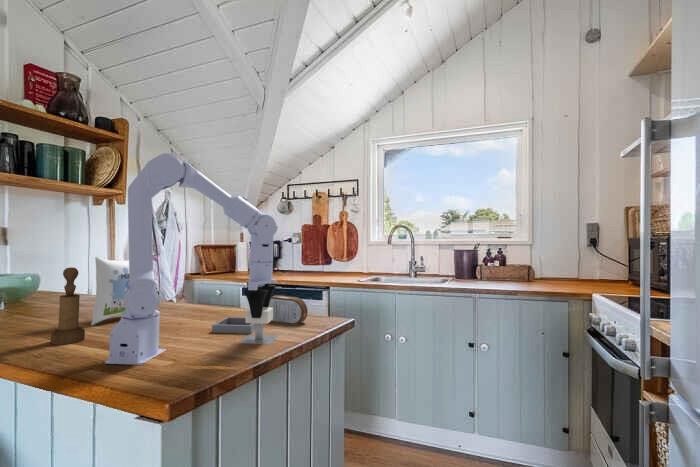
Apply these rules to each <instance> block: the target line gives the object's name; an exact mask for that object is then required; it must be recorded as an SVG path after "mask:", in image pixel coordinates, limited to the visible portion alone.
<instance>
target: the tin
mask: <svg viewBox="0 0 700 467" xmlns="http://www.w3.org/2000/svg"><path fill="white" fill-rule="evenodd" d="M269 307H270V308H273V319H272V320H271V321H270V322H272V323H290V324H295V325H296V324H297V325H298V324H302V323H304V322H305V321H306V319H307V318H308V310H309V309H308V306H307V304H306V303H305V301H304V300H303V299H301V297H297V296H290V295H289V296H288V295H280V294H275V295H272V296H271V299H270V303H269Z"/></svg>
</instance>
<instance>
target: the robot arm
mask: <svg viewBox="0 0 700 467" xmlns="http://www.w3.org/2000/svg"><path fill="white" fill-rule="evenodd" d="M177 183H179V184H178V188H187V189H189V188H190V189H193V190H196V191H197V192H199V193H201V195H204V196H205V197H207V198H208V199H209V200H212V201H213V202H215V203H216V204H217V205H219V206H221V207H222V208H223V209H222V210H223V214H224V215H225V216H227V217H228V218H230V219H231V220H233V222H236V223H237V224H238V225H239V226H241V227H243V228H244V229H247V231H248V233H249V234H250V246H249V248H250V249H249V274H248V275H249V278H248V281H247V285H248V286H247V287H248V288H244V289H243V293H244V295H245V297H246V299H247V303H248V306H249V309H250V312H251V316H252V318H261V315H262V310H263V307H269V303H270V299H271V297H272V296H273V293H274V291H275V289H276V286H277V285H276V284H272V283H277V282H278V279H276V278H273V270H274V269H273V266H274V264H273V262H274V236H275V235H276V233H277V231H278V229H279V226H278V225H277V222H276V220H275V219H274V218H273V217H272V216H271V215H269V214H263V213H264V210H263V209H261V208H257V207H255V206H254V205H253V204H251V203H250V202H249V201H248V200H249V198H247V197H246V196H240V195H234V196H233V195H232V196H231V194H229V193H228V192H227V191H225V190H224V189H222V188H221V187H220V186H219V185H217V184H216V183H214V182H213V181H212V180H211V179H209V178H208V177H207V176H205V175H204V174H203V173H202V172H201V171H199V170H198V169H197V168H195V167H194V166H192V165H191V164H190V163H188V162H186V161H182V159H181V158H180V157H178V156H177V155H175V154H173V153H167V152H166V153H165V152H164V153H161V154H159V155H156V156H155V157H153V158H152V159H150V160H148V161H147V163H146V164H145V165H144V166H143V168H142V169H141V170H140V172H139V173H138V175H137V176H136V177H135V178H134V179H133V180H132V181H131V183H130V184H129V186H128V188H127V215H128V216H127V219H128V220H127V221H128V223H127V225H128V260H129V287H128V289H127V290H126V293H125V308H126V310H125V311H124V312H122V315H120V316H121V317H120V319H119V322H117V323H115V324H114V325H113V326H112V328H111V330H110V333H109V347H108V349H109V351H108V352H109V353H108V359H106V360H104V364H108V365H139V366H141V365H145V362H148V361H149V360H151V359H152V358H154V357H156V356H158V355H160V354H162V353H163V352H165V351H167V349H166V348H159V347H160V346H159V344H160V320H161V319H160V318H161V317H160V315H161V314H160V313H161V311H159V310H158V307H159V305H160V301H161V300H160V295H159V293H158V291H157V290H156V287H155V277H154V276H155V275H154V254H153V253H154V252H153V251H154V249H153V248H154V247H153V242H154V241H153V206H152V204H153V200H152V199H153V198H154V197H156V196H157V195H158V194H159V193H161V191H163V190H166V189H169V188H171V187H173V186H175V185H177Z"/></svg>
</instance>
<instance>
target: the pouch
mask: <svg viewBox="0 0 700 467" xmlns="http://www.w3.org/2000/svg"><path fill="white" fill-rule="evenodd" d="M94 259H95V270H96V271H95V275H96V276H95V280H96V281H95V283H96V284H95V285H96V287H95V288H96V290H95V298H94V304H93V305H94V306H93V313H92V319H91V326H94V325H96V324H98V323H100V322H102V321H105V320H108V319H111V318H115V317H118V316H121V315H122V312H124V311H125V310H126V308H125V293H126V290H127V289H128V287H129V259H128V260H118V259H114V260H113V259H111V260H110V259H104V258H101V257H99V256H95V258H94Z"/></svg>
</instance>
